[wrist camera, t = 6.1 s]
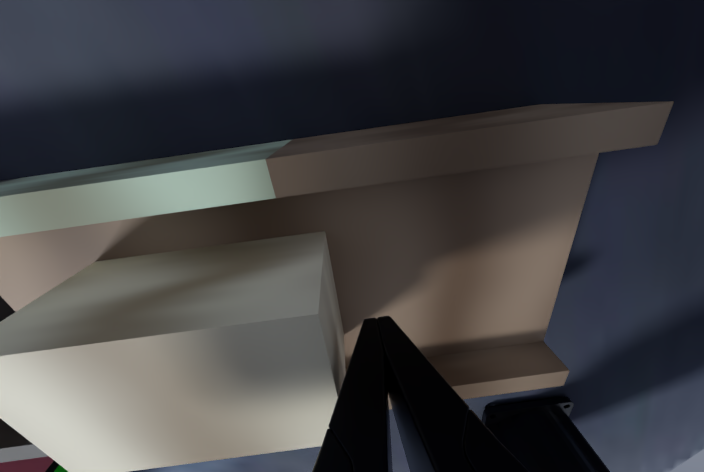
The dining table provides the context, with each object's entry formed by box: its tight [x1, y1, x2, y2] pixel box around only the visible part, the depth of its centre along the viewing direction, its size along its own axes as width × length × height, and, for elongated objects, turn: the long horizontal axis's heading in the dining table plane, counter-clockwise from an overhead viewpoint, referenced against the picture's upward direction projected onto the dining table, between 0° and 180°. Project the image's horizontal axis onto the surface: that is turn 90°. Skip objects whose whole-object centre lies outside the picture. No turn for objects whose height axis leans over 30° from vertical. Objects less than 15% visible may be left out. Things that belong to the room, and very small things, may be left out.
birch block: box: [0, 231, 346, 472], centre depth 8 cm, size 8×5×4 cm, turn 97°
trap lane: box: [0, 101, 674, 463], centre depth 11 cm, size 28×11×5 cm, turn 97°
